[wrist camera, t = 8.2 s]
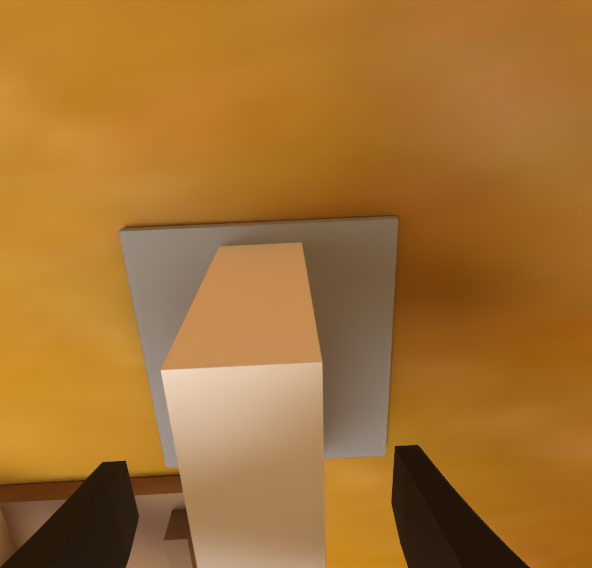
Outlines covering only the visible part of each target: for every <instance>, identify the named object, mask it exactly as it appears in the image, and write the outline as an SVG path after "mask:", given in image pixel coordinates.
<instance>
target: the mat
mask: <svg viewBox="0 0 592 568" xmlns="http://www.w3.org/2000/svg"><path fill="white" fill-rule="evenodd" d="M398 221H399V219H398V218H397V217H396V216H378V217H356V218H334V219H312V220H290V221H268V222H245V223H223V224H201V225H179V226H157V227H135V228H123V229H121V230H120V231H118V232H119V237H120V242H121V247H122V252H123V257H124V262H125V267H126V272H127V277H128V282H129V287H130V292H131V297H132V302H133V306H134V311H135V316H136V321H137V326H138V331H139V336H140V341H141V346H142V351H143V356H144V361H145V366H146V371H147V376H148V381H149V386H150V391H151V396H152V401H153V406H154V411H155V416H156V421H157V426H158V431H159V436H160V441H161V446H162V451H163V456H164V461H165V466H166V468H177V467H178V462H177V456H176V451H175V445H174V440H173V435H172V429H171V424H170V418H169V413H168V408H167V402H166V397H165V392H164V386H163V381H162V375H161V368H162V366H163V364H164V362H165V360H166V358H167V356H168V353H169V351H170V349H171V347H172V345H173V343H174V341H175V339H176V337H177V334H178V332H179V330H180V328H181V326H182V324H183V322H184V320H185V318H186V315H187V313H188V311H189V309H190V307H191V305H192V303H193V301H194V299H195V296H196V294H197V292H198V290H199V288H200V286H201V284H202V282H203V280H204V277H205V275H206V273H207V271H208V269H209V267H210V265H211V263H212V261H213V258H214V256H215V254H216V252H217V250H218V248H219V246H234V245H256V244H278V243H300V242H302V246H303V252H304V258H305V264H306V269H307V275H308V281H309V287H310V293H311V299H312V305H313V310H314V316H315V322H316V328H317V334H318V340H319V345H320V351H321V357H322V372H323V435H324V459H339V458H357V457H375V456H386V441H387V423H388V405H389V386H390V368H391V349H392V331H393V313H394V294H395V276H396V258H397V239H398Z"/></svg>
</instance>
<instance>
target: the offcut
mask: <svg viewBox="0 0 592 568" xmlns="http://www.w3.org/2000/svg"><path fill="white" fill-rule="evenodd" d="M16 551H17V547H16V545H15V543H14V540H13V538H12V535H11V533H10V531H9V528H8V526H7V523H6V521H5V518H4V516H3V514H2V511H1V509H0V567H1V566H2V565H3V564H4V563H5V562H6V561H7V560H8V559H9V558H10V557H11V556H12V555H13V554H14V553H15V552H16Z"/></svg>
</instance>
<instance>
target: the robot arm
mask: <svg viewBox="0 0 592 568" xmlns="http://www.w3.org/2000/svg"><path fill="white" fill-rule="evenodd" d="M391 503H392V508H393V512H394V517H395V522H396V526H397V530H398V535H399V539H400V543H401V547H402V550H403V553H404V556H405V559H406V562H407V565H408V568H530V567H529V566H528V565H526V564H525V563H524V562H523V561H522V560H521V559H520V558H519V557H518V556H517V555H516V554H515V553H514V552H513V551H512V550H511V549H510V548H509V547H508V546H507V545H506V544H505V543H504V542H503V541H502V540H501V539H500V538H499V537H498V536H497V535H496V534H495V533H494V532H493V531H492V530H491V529H490V528H489V527H488V526H487V525H486V524H485V523H484V522H483V520H482V519H481V518H480V517H479V516H478V515H477V514H476V513H475V512H474V511H473V510H472V508H471V507H470V506H469V505H468V504H467V503H466V502H465V501H464V500H463V498H462V497H461V496H460V495H459V494H458V493H457V492H456V490H455V489H454V488H453V487H452V486H451V485H450V483H449V482H448V481H447V480H446V479H445V477H444V476H443V475H442V474H441V473H440V471H439V470H438V469H437V468H436V466H435V465H434V464H433V463H432V461H431V460H430V459H429V458H428V456H427V455H426V454H425V453H424V451H423V450H422V449H421V448H420V447H419V446H418V445H409V446H395V454H394V470H393V486H392V501H391ZM138 520H139V513H138V509H137V505H136V501H135V497H134V493H133V489H132V485H131V481H130V477H129V472H128V468H127V464H126V461H115V462H102V463H101V465H100V466H99V467H98V468H97V469H96V470H95V471H94V472H93V473H92V474H91V475H90V476H89V477H88V478H87V479H86V480H85V481H84V482H83V483H82V484H81V485H80V486H79V488H78V489H77V490H76V491H75V492H74V493H73V494H72V495H71V496H70V497H69V498H68V499H67V500H66V501H65V502H64V503H63V505H62V506H61V507H60V508H59V509H58V510H57V511H56V512H55V513H54V514H53V515H52V516H51V517H50V518H49V519H48V520H47V521H46V522H45V523H44V524H43V525H42V526H41V527H40V528H39V529H38V530H37V531H36V532H35V533H34V534H33V535H32V536H31V537H30V538H29V539H28V540H27V541H26V542H25V543H24V544H23V545H22V546H21V547H20V548H19V549H18V550H17V551H16V552H15V553H14V554H13V555H12V556H11V557H10V558H9V559H8V560H7V561H6V562H5V563H4V564H3V565H2V566H1V567H0V568H126V566H127V563H128V560H129V557H130V553H131V549H132V545H133V541H134V537H135V533H136V529H137V525H138Z"/></svg>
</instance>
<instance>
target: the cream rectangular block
mask: <svg viewBox="0 0 592 568" xmlns="http://www.w3.org/2000/svg"><path fill="white" fill-rule="evenodd" d="M161 375H162V381H163V386H164V392H165V397H166V402H167V408H168V413H169V418H170V424H171V429H172V435H173V440H174V445H175V451H176V456H177V462H178V467H179V472H180V478H181V483H182V489H183V494H184V499H185V505H186V510H187V516H188V521H189V526H190V532H191V537H192V543H193V548H194V553H195V559H196V564H197V568H326V561H325V498H324V435H323V372H322V357H321V351H320V345H319V340H318V334H317V328H316V322H315V316H314V310H313V305H312V299H311V293H310V287H309V281H308V275H307V269H306V264H305V258H304V252H303V246H302V242H300V243H278V244H256V245H234V246H219V248H218V250H217V252H216V254H215V256H214V258H213V261H212V263H211V265H210V267H209V269H208V271H207V273H206V275H205V277H204V280H203V282H202V284H201V286H200V288H199V290H198V292H197V294H196V296H195V299H194V301H193V303H192V305H191V307H190V309H189V311H188V313H187V315H186V318H185V320H184V322H183V324H182V326H181V328H180V330H179V332H178V334H177V337H176V339H175V341H174V343H173V345H172V347H171V349H170V351H169V353H168V356H167V358H166V360H165V362H164V364H163V366H162V368H161Z"/></svg>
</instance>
